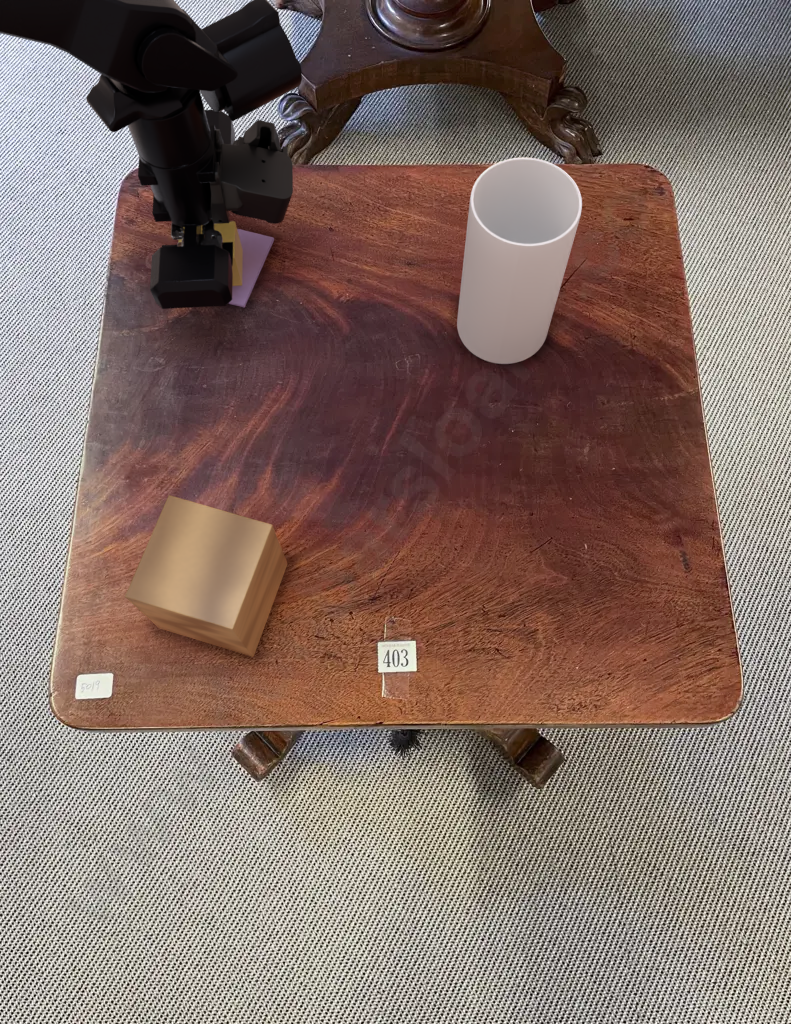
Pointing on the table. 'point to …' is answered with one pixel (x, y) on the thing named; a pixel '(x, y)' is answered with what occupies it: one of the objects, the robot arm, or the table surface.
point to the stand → (209, 575)
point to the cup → (515, 257)
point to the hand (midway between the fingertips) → (214, 269)
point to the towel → (250, 264)
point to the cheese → (232, 235)
